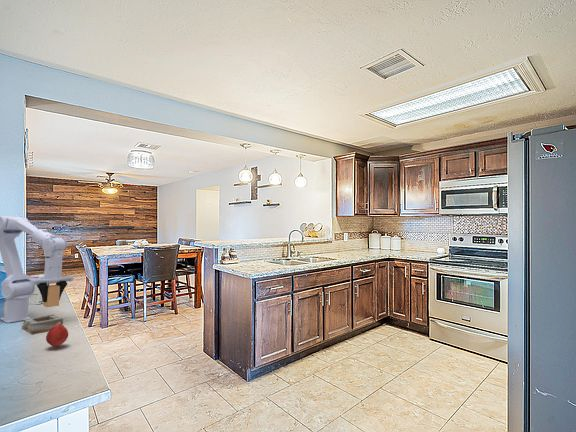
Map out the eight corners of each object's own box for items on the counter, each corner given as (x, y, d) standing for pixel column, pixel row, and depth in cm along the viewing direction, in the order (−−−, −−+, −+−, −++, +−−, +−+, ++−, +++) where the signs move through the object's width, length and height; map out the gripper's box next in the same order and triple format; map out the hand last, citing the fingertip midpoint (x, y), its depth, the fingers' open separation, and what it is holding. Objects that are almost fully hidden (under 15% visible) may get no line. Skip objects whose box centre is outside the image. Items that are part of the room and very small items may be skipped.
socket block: (21, 328, 121) (22, 319, 121) (52, 322, 129) (53, 314, 129) (31, 334, 114) (32, 324, 115) (63, 328, 123) (64, 318, 123)
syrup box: (37, 304, 158) (39, 275, 159) (28, 304, 159) (30, 275, 160) (48, 302, 163) (50, 274, 164) (39, 301, 165) (41, 273, 165)
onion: (43, 351, 99) (45, 325, 99) (47, 345, 104) (49, 321, 104) (66, 349, 102) (67, 323, 102) (68, 343, 107) (70, 319, 107)
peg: (43, 305, 128) (44, 286, 129) (54, 304, 132) (55, 284, 132) (47, 307, 126) (48, 287, 126) (58, 305, 129) (60, 285, 130)
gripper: (35, 269, 121) (33, 305, 121) (77, 266, 133) (75, 299, 133) (28, 268, 125) (26, 302, 125) (70, 265, 137) (68, 297, 137)
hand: (51, 300), depth 129 cm, fingers closed on peg, 4 cm apart
